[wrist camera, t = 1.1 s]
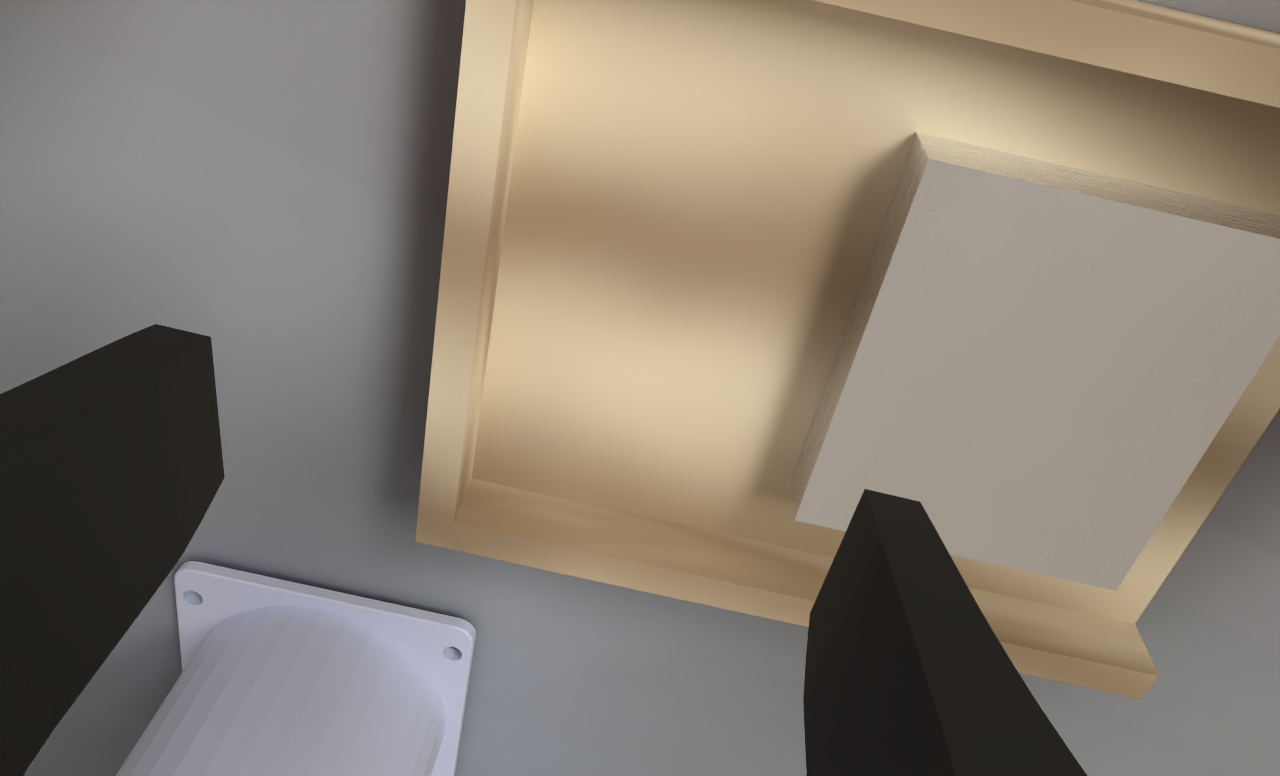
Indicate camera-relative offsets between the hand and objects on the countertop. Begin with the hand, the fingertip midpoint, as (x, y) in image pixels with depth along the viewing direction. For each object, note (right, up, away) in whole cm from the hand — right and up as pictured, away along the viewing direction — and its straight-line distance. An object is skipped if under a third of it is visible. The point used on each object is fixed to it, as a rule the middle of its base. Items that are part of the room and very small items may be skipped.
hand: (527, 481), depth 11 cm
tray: (+6, +3, +9) cm, 11 cm away
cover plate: (+9, +2, +9) cm, 13 cm away
